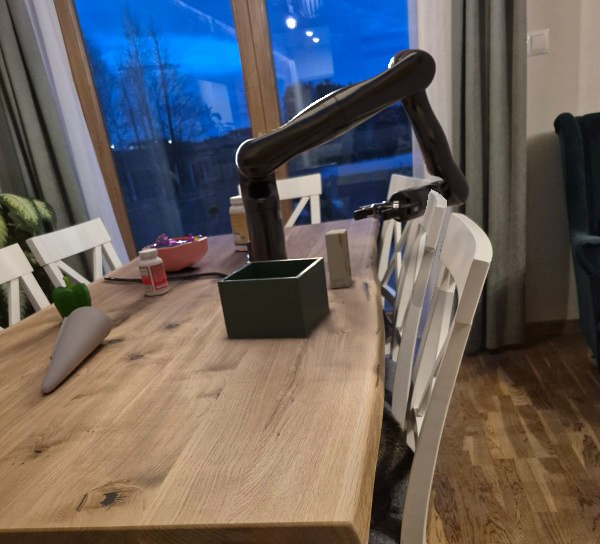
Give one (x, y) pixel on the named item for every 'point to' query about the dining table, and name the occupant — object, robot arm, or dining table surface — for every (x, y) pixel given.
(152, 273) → the pill bottle
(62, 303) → the bell pepper
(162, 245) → the cell model
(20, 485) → the dining table surface
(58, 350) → the grey cone
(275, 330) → the trash bin
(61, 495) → the dining table surface
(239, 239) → the supplement tub
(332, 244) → the cosmetic box
